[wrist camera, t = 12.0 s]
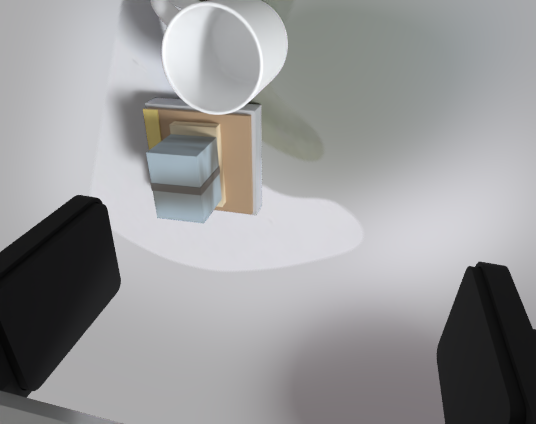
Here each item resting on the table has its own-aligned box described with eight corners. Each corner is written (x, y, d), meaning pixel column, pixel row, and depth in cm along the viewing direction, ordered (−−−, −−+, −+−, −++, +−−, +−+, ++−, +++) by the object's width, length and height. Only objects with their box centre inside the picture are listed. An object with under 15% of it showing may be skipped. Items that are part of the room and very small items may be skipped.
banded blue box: (174, 121, 43) (143, 142, 38) (220, 123, 42) (195, 146, 37) (184, 197, 48) (158, 226, 42) (226, 202, 46) (205, 232, 41)
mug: (163, 24, 41) (105, 37, 33) (206, -55, 37) (151, -63, 28) (256, 102, 43) (224, 135, 34) (307, 36, 39) (284, 54, 30)
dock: (155, 97, 46) (141, 105, 43) (261, 104, 43) (252, 113, 40) (168, 194, 52) (156, 206, 49) (262, 205, 49) (254, 218, 46)
